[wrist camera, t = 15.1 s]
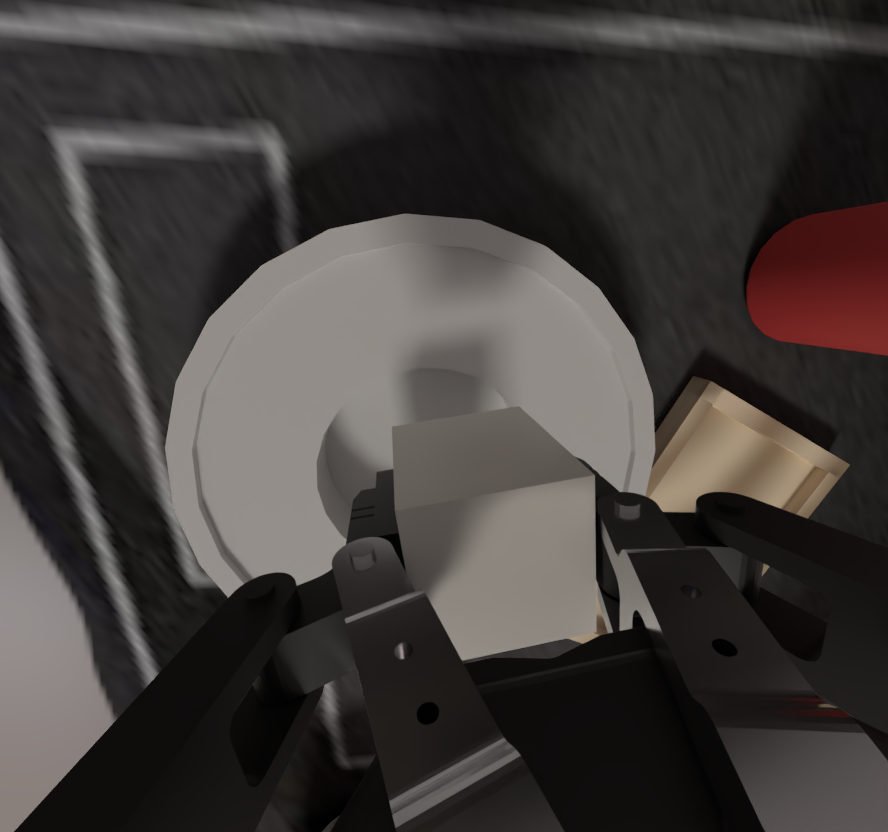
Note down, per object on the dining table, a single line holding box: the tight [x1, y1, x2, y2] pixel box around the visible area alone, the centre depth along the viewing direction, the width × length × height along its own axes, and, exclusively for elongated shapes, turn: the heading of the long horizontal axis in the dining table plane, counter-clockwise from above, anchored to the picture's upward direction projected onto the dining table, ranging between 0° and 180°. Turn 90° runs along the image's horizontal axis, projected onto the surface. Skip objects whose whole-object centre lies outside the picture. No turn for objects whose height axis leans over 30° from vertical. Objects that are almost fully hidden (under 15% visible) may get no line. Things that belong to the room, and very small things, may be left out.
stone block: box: [392, 406, 597, 660], centre depth 11 cm, size 4×4×5 cm
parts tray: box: [568, 376, 850, 644], centre depth 27 cm, size 12×18×1 cm, turn 152°
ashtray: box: [165, 214, 655, 598], centre depth 22 cm, size 23×23×4 cm
